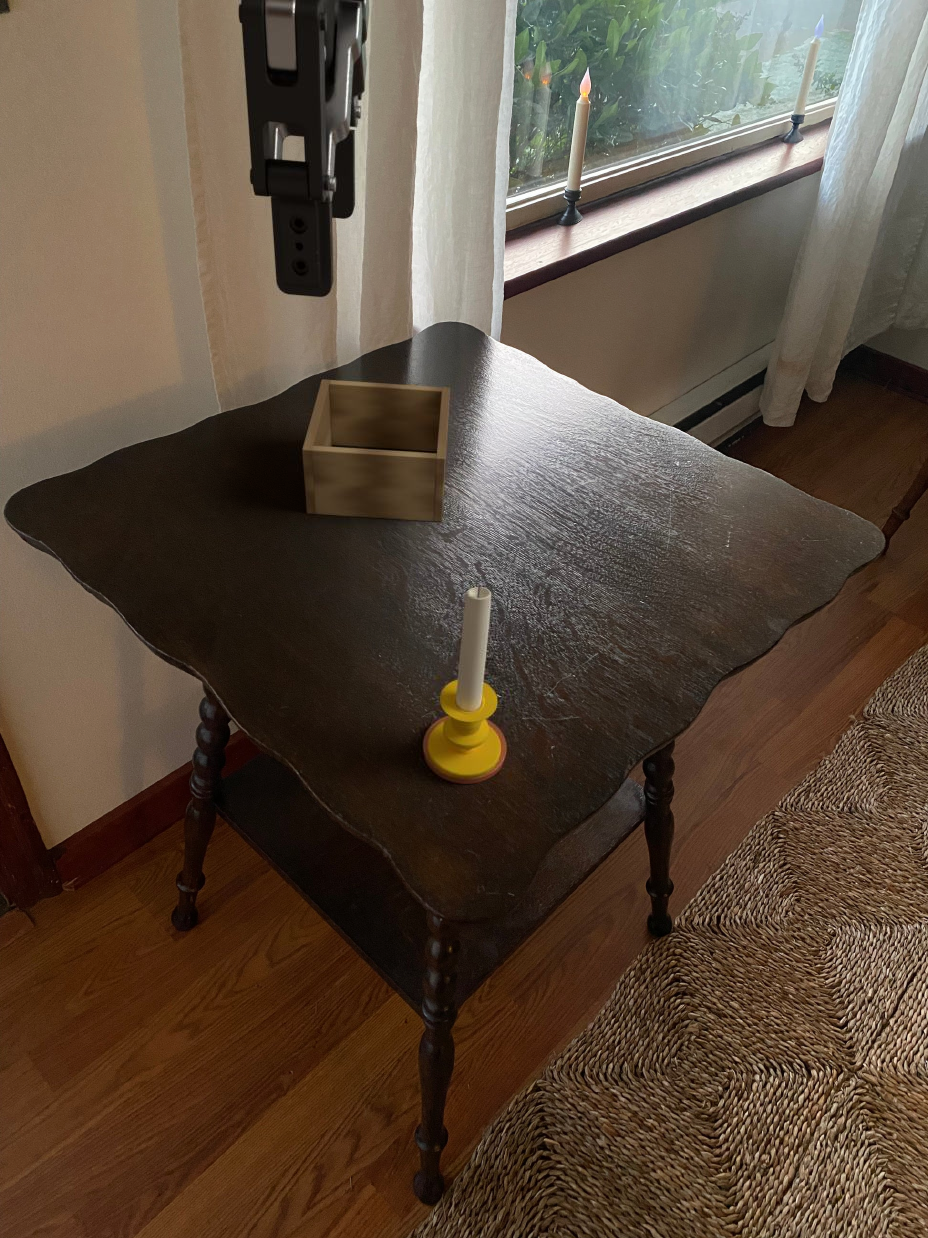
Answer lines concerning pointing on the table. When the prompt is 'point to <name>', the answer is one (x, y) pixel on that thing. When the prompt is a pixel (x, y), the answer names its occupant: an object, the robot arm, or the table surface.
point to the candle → (468, 701)
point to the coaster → (466, 780)
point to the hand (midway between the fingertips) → (319, 250)
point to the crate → (377, 451)
